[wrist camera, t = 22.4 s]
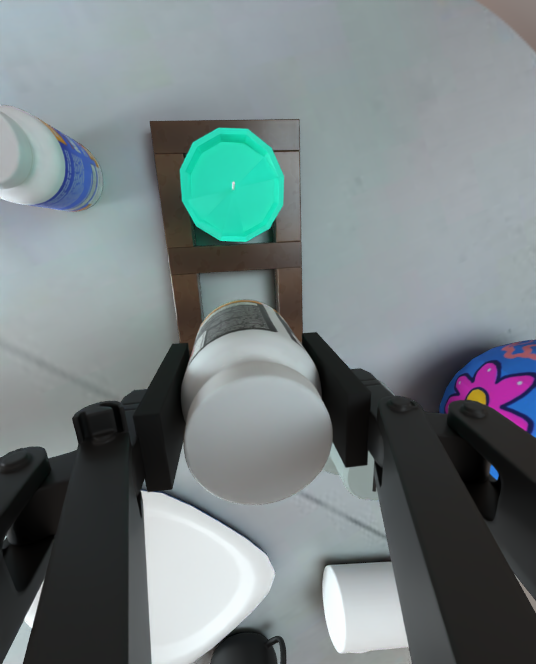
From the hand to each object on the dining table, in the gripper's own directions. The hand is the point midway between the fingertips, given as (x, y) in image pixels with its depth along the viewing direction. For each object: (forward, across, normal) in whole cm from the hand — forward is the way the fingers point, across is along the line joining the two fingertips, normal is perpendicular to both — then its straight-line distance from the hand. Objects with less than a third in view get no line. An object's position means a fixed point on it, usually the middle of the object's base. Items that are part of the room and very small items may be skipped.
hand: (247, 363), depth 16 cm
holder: (+15, 0, +4) cm, 16 cm away
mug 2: (+15, +13, -40) cm, 44 cm away
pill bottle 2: (+4, 0, 0) cm, 4 cm away
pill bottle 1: (+15, -13, +12) cm, 23 cm away
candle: (+15, 0, +9) cm, 18 cm away
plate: (+15, -13, -34) cm, 39 cm away
